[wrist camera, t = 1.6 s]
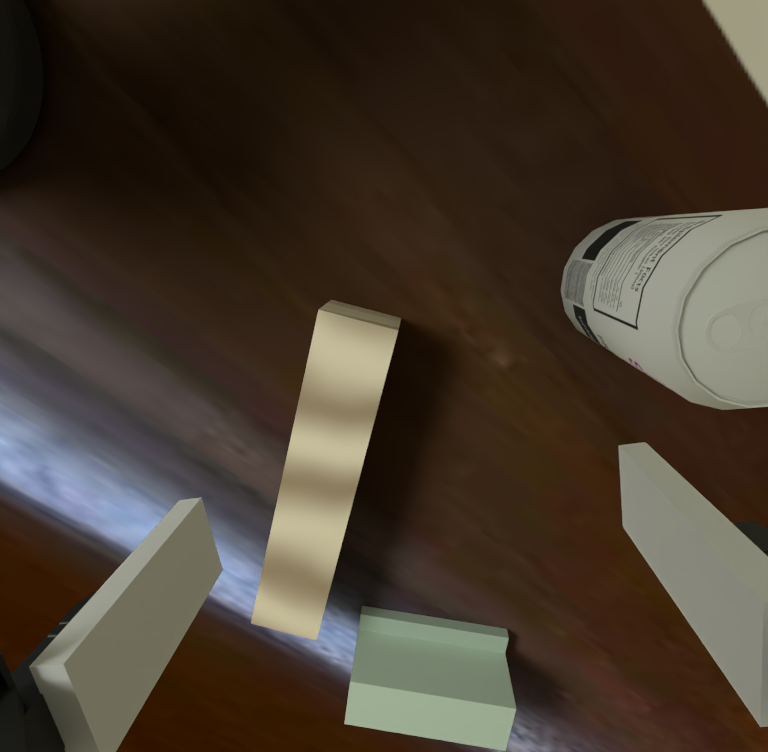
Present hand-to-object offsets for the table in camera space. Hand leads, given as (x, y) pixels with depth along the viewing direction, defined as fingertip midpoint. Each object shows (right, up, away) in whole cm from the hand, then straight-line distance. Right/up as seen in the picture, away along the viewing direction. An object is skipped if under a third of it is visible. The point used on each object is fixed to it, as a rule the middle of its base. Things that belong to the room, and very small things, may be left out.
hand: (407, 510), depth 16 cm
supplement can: (+15, +10, +18) cm, 26 cm away
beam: (-5, -2, +23) cm, 24 cm away
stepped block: (+3, -19, +27) cm, 33 cm away
